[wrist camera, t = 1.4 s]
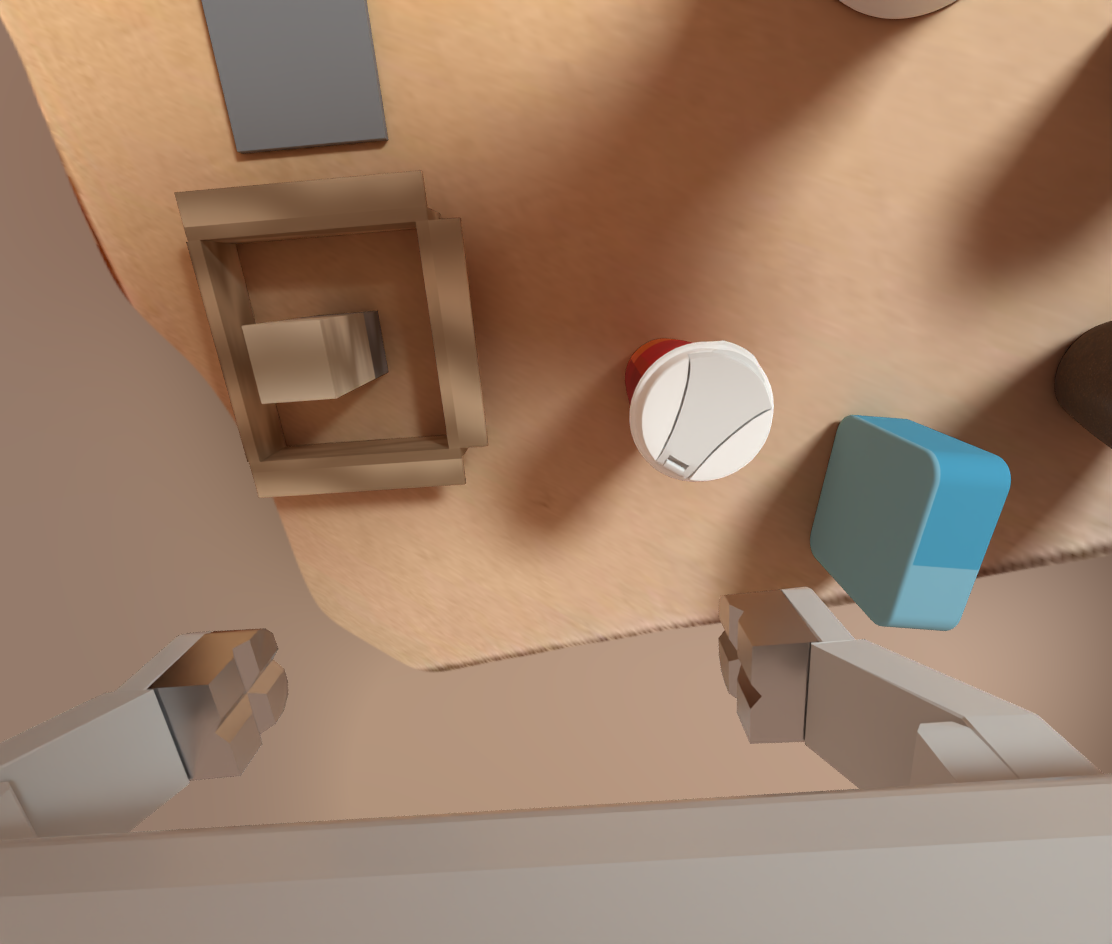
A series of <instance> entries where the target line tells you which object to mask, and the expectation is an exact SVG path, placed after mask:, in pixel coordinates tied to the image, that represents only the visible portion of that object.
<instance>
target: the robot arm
mask: <svg viewBox="0 0 1112 944" xmlns="http://www.w3.org/2000/svg"><path fill="white" fill-rule="evenodd" d="M839 1H841V2H842V3H844V4H845V5H847V6H848V7H850V8H852V9H854V10H856V11H859V12H861V13H864V14H867V15H870V16H874V17H879V18H887V19H902V18H911V17H916V16H921V15H924V14H927V13H931V12H933V11H936V10H938V9H941V8H943V7H945V6H947V5H949V4H951V3H953V2H954V1H956V0H839ZM719 619H720V621H721V623H722V625H723V627H724V629H725V631H724V632H723V633H722V635H721V636H720V637H719V658H720V665H721V672H722V675H723V678H724V682H725V685H726V687H727V690H728V692H729V694H731V695H732V696H734V697H735V698H737V714H738V716H739V719H740V721H741V723H742V726H743V728H744V730H745V733H746V735H747V737H748V740H749V742H750V744H754V743H782V742H805V745H806V746H808V747H809V748H810V749H811V750H813V751H814V752H815V753H816V754H817V755H819V756H820V757H821V758H822V759H824V760H825V761H826V762H827V763H829V764H830V765H831V766H832V767H834V768H835V769H836V770H837V771H838V772H840V773H841V774H842V775H844V776H845V777H846V778H847V779H848V780H849V781H851V782H852V783H853V784H854V785H856V786H857V787H858V788H859V789H848V790H833V791H832V790H831V791H814V792H798V793H783V794H782V793H781V794H764V795H749V796H748V795H747V796H731V797H715V798H697V799H682V800H665V801H647V802H630V803H614V804H597V805H580V806H564V807H548V808H530V809H513V810H496V811H482V812H465V813H448V814H431V815H413V816H397V817H379V818H363V819H346V820H330V821H312V822H296V823H279V824H262V825H245V826H228V827H212V828H195V829H178V830H160V831H143V832H130V831H131V830H132V829H133V828H135V827H136V826H137V825H138V824H140V823H141V822H142V821H143V820H145V819H146V818H147V817H148V816H150V815H151V814H152V813H153V812H155V811H156V810H157V809H158V808H159V807H161V806H162V805H163V804H164V803H166V802H167V801H168V800H169V799H171V798H172V797H173V796H174V795H176V794H177V793H178V792H179V791H181V790H182V789H183V788H184V787H186V786H187V785H188V784H189V783H190V782H189V781H191V780H202V779H213V778H222V777H234V776H241V774H242V773H243V772H244V770H245V768H246V767H247V766H248V764H249V763H250V761H251V760H252V758H253V757H254V755H255V754H256V752H257V751H258V749H259V748H260V746H261V745H262V741H261V736H260V734H261V733H262V732H264V731H266V730H267V729H268V728H270V727H271V726H273V725H274V724H276V722H277V721H278V719H279V718H280V716H281V714H282V713H283V711H284V708H285V704H286V700H287V696H288V680H287V677H286V673H285V670H284V668H282V667H281V666H280V665H279V664H278V663H277V662H275V661H274V660H273V659H274V656H275V654H276V652H277V650H278V646H277V643H276V641H275V638H274V635H273V633H272V632H270V631H269V630H267V629H246V630H227V631H213V632H211V631H206V632H196V633H187V634H182V635H178V636H177V637H176V638H175V639H174V640H173V641H171V642H170V643H169V644H168V645H167V646H166V647H164V648H163V649H162V650H161V651H160V652H159V653H158V654H156V655H155V656H154V657H153V658H152V659H151V660H150V661H149V662H147V663H146V664H145V665H144V666H143V667H142V668H141V669H139V670H138V671H137V672H136V673H135V674H134V675H133V676H131V677H130V678H129V679H128V680H127V681H126V682H125V683H123V684H122V685H121V686H120V687H119V688H118V689H117V690H115V691H114V692H108V693H103V694H101V695H99V696H97V697H95V698H93V699H91V700H89V701H87V702H85V703H82V704H80V705H78V706H76V707H74V708H73V709H70V710H68V711H66V712H64V713H62V714H60V715H57V716H55V717H53V718H51V719H49V720H47V721H45V722H43V723H41V724H39V725H37V726H35V727H32V728H30V729H28V730H26V731H24V732H22V733H20V734H18V735H16V736H14V737H12V738H10V739H8V740H5V741H3V742H2V743H0V944H1112V774H1104V773H1102V772H1101V771H1100V770H1099V769H1098V768H1097V767H1096V766H1094V765H1093V764H1092V763H1091V762H1090V761H1089V760H1088V759H1086V757H1084V756H1083V755H1082V754H1081V753H1080V752H1079V751H1077V750H1076V749H1075V748H1074V747H1073V746H1072V745H1071V744H1070V743H1068V742H1067V741H1066V740H1065V739H1064V738H1063V737H1062V736H1061V735H1060V734H1059V733H1057V732H1056V731H1055V730H1054V729H1053V728H1052V727H1050V726H1049V725H1048V724H1047V723H1046V722H1045V721H1044V720H1042V718H1040V717H1039V716H1038V715H1037V714H1035V713H1033V712H1030V711H1028V710H1026V709H1024V708H1021V707H1019V706H1017V705H1014V704H1012V703H1010V702H1008V701H1005V700H1003V699H1000V698H998V697H996V696H994V695H991V694H989V693H987V692H984V691H982V690H980V689H978V688H975V687H973V686H971V685H969V684H966V683H964V682H962V681H959V680H957V679H955V678H953V677H950V676H948V675H946V674H943V673H941V672H939V671H936V670H934V669H932V668H929V667H927V666H925V665H923V664H920V663H918V662H916V661H914V660H911V659H909V658H907V657H904V656H902V655H900V654H897V653H895V652H893V651H890V650H888V649H886V648H884V647H881V646H879V645H877V644H874V643H872V642H870V641H868V640H865V639H862V640H855V639H854V638H853V637H852V636H851V634H850V633H849V632H848V631H847V630H846V628H845V627H844V626H843V625H842V624H841V623H840V621H838V619H837V618H836V617H835V616H834V615H833V613H832V612H831V611H830V610H829V609H828V607H827V606H826V605H825V604H824V603H823V602H822V601H821V599H820V598H819V597H818V596H817V595H816V594H815V592H814V591H813V590H812V589H811V588H808V587H797V588H788V589H779V590H770V591H760V592H750V593H740V594H730V595H721V596H720V599H719Z"/></svg>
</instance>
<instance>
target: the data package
mask: <svg viewBox="0 0 1112 944" xmlns="http://www.w3.org/2000/svg"><path fill="white" fill-rule="evenodd" d="M1010 485H1011V475H1010V470H1009V468H1008V466H1007V464H1006V463H1005V461H1004V460H1003V459H1002V458H1000V457H999V456H997V455H995V454H992V453H990V452H987V451H985V450H983V449H980V448H978V447H975V446H973V445H970V444H968V443H965V442H963V441H960V440H958V439H955V438H953V437H950V436H948V435H945V434H943V433H940V432H938V431H935V430H933V429H931V428H928V427H926V426H923V425H921V424H918V423H916V422H913V421H911V420H908V419H899V418H886V417H873V416H860V415H849V416H847V417H845V418H844V419H843V420H842V421H841V423H840V424H839V426H838V429H837V432H836V436H835V440H834V444H833V448H832V452H831V456H830V460H829V464H828V468H827V472H826V475H825V479H824V483H823V487H822V491H821V495H820V499H819V503H818V507H817V511H816V515H815V519H814V523H813V527H812V531H811V535H810V546H811V551H812V553H813V555H814V557H815V558H816V559H817V560H818V561H819V563H820V564H821V565H822V566H823V567H824V568H825V569H826V570H827V571H828V573H829V574H830V575H831V576H832V577H833V578H834V579H835V580H836V581H837V583H838V584H839V585H840V586H841V587H842V588H843V589H844V590H845V591H846V593H847V594H848V595H849V596H850V597H851V598H852V599H853V600H854V601H855V602H856V604H857V605H858V606H859V607H860V608H861V609H862V610H863V611H864V612H865V614H866V615H867V616H868V617H869V618H870V619H871V620H872V621H873V622H874V623H875V624H877V625H879V626H885V627H899V628H912V629H927V630H940V631H947V630H951V629H953V628H954V627H955V626H956V625H957V624H958V623H959V621H960V619H961V617H962V614H963V611H964V608H965V606H966V603H967V600H968V598H969V595H970V593H971V590H972V587H973V585H974V582H975V579H976V577H977V574H978V572H979V569H980V566H981V564H982V561H983V558H984V556H985V553H986V550H987V548H988V545H989V542H990V540H991V537H992V534H993V532H994V529H995V527H996V524H997V521H998V519H999V516H1000V513H1001V511H1002V508H1003V505H1004V503H1005V500H1006V497H1007V495H1008V492H1009V489H1010Z"/></svg>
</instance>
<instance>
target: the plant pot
mask: <svg viewBox="0 0 1112 944" xmlns="http://www.w3.org/2000/svg"><path fill="white" fill-rule="evenodd" d="M1055 392H1056V397H1057V400H1058V402H1059V403H1060V405H1061V406H1062V408H1063V409H1064V410H1065V411H1066V412H1067V413H1068V414H1069V415H1071V416H1072V417H1073V418H1074V419H1075V420H1076V421H1077V422H1078V423H1080V424H1081V425H1082V426H1083V427H1084V428H1085V429H1087V430H1088V431H1089V432H1090V433H1092V434H1093V435H1094V436H1096V437H1097V438H1098V439H1099V440H1101V441H1102V442H1104V443H1105V444H1106V445H1108V446H1109V447H1110V448H1111V449H1112V321H1110V322H1106V323H1104V324H1101V325H1099V326H1097V327H1094V328H1092V329H1091V330H1089V331H1088V332H1086V333H1085V334H1083V335H1082V336H1081V337H1080V338H1079V339H1077V340H1076V341H1075V342H1074V343H1073V344H1072V345H1071V347H1070V348H1069V349H1068V350H1067V352H1066V353H1065V355H1064V356H1063V358H1062V360H1061V362H1060V364H1059V366H1058V369H1057V373H1056V378H1055Z"/></svg>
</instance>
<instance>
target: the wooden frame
mask: <svg viewBox="0 0 1112 944" xmlns="http://www.w3.org/2000/svg"><path fill="white" fill-rule="evenodd" d="M175 197H176V201H177V204H178V208H179V211H180V215H181V219H182V222H183V226H184V229H185V233H186V237H187V240H188V242H186V243H187V246H188V250H189V253H190V257H191V261H192V264H193V268H194V271H195V275H196V279H197V282H198V286H199V289H200V293H201V297H202V300H203V304H204V307H205V311H206V315H207V318H208V322H209V325H210V329H211V333H212V336H213V340H214V343H215V347H216V351H217V354H218V358H219V361H220V365H221V369H222V372H223V376H224V379H225V383H226V387H227V390H228V394H229V397H230V401H231V404H232V408H233V412H234V415H235V419H236V422H237V426H238V430H239V433H240V436H241V440H242V444H243V448H244V451H245V455H246V458H247V461H248V462H249V464H250V467H251V471H252V475H253V478H254V482H255V486H256V489H257V493H258V496H259V498H266V497H282V496H297V495H312V494H327V493H342V492H357V491H372V490H387V489H403V488H418V487H433V486H448V485H463V484H466V479H465V471H464V464H463V455H464V453H465V452H466V450H467V448H469V447H483V446H488V438H487V430H486V422H485V414H484V406H483V397H482V389H481V381H480V373H479V365H478V356H477V348H476V340H475V332H474V324H473V316H472V307H471V299H470V291H469V283H468V275H467V267H466V258H465V250H464V242H463V234H462V226H461V218H450V219H441V218H440V214H439V213H437V212H436V211H434V210H432V209H430V208H428V207H427V200H426V192H425V185H424V178H423V172H422V171H421V170H419V171H408V172H397V173H386V174H375V175H364V176H353V177H342V178H331V179H319V180H308V181H297V182H286V183H275V184H264V185H253V186H242V187H231V188H219V189H208V190H197V191H186V192H175ZM406 229H417V235H418V242H419V249H420V256H421V262H422V269H423V276H424V283H425V289H426V296H427V303H428V310H429V317H430V323H431V330H432V337H433V344H434V350H435V357H436V364H437V371H438V378H439V384H440V391H441V398H442V405H443V411H444V418H445V425H446V432H447V435H439V436H425V437H411V438H396V439H382V440H368V441H353V442H339V443H325V444H311V445H296V446H286V443H285V439H284V435H283V431H282V427H281V423H280V419H279V415H278V411H277V407H276V403H268V404H262V403H261V399H260V396H259V392H258V388H257V384H256V380H255V376H254V372H253V368H252V365H251V361H250V357H249V353H248V349H247V345H246V341H245V338H244V334H243V330H242V326H243V325H251V324H256V323H255V319H254V315H253V311H252V307H251V303H250V299H249V295H248V291H247V288H246V284H245V280H244V276H243V272H242V268H241V264H240V260H239V256H238V252H237V248H236V244H242V243H254V242H266V241H277V240H289V239H301V238H312V237H324V236H336V235H347V234H359V233H371V232H382V231H394V230H406Z"/></svg>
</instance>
